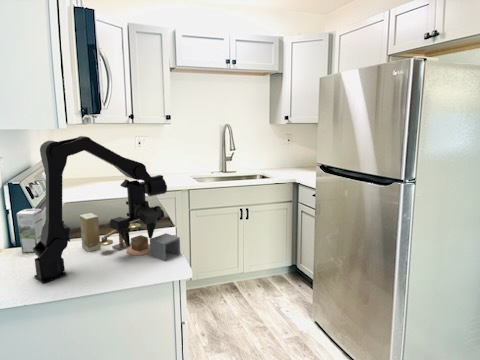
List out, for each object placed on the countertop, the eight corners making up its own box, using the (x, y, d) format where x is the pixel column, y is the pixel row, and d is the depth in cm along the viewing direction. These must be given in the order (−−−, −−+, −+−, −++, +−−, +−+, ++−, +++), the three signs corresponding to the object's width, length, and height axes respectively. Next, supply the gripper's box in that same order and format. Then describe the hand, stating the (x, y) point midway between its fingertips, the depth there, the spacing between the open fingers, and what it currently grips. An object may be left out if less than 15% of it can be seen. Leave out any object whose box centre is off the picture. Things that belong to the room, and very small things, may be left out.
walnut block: (138, 251, 118) (137, 240, 117) (131, 249, 120) (130, 238, 119) (148, 248, 121) (147, 237, 120) (141, 245, 123) (140, 235, 122)
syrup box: (46, 246, 125) (42, 207, 122) (38, 253, 119) (32, 212, 117) (30, 246, 125) (25, 208, 122) (21, 253, 119) (15, 212, 116)
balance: (104, 256, 116) (102, 230, 115) (97, 252, 119) (95, 227, 117) (144, 242, 129) (142, 218, 127) (136, 239, 131) (135, 216, 130)
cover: (164, 261, 112) (163, 243, 111) (150, 255, 116) (149, 239, 115) (180, 254, 117) (179, 237, 116) (166, 249, 122) (165, 233, 121)
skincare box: (81, 247, 124) (78, 214, 122) (93, 244, 127) (91, 212, 125) (88, 252, 119) (85, 218, 117) (101, 249, 122) (98, 215, 120)
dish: (137, 258, 114) (137, 255, 114) (121, 251, 120) (121, 249, 120) (158, 249, 121) (158, 247, 121) (142, 244, 127) (142, 241, 127)
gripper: (127, 208, 105) (130, 256, 108) (173, 196, 119) (175, 239, 122) (106, 202, 112) (110, 248, 115) (153, 192, 126) (155, 232, 129)
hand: (139, 242), depth 120 cm, fingers open, 9 cm apart
